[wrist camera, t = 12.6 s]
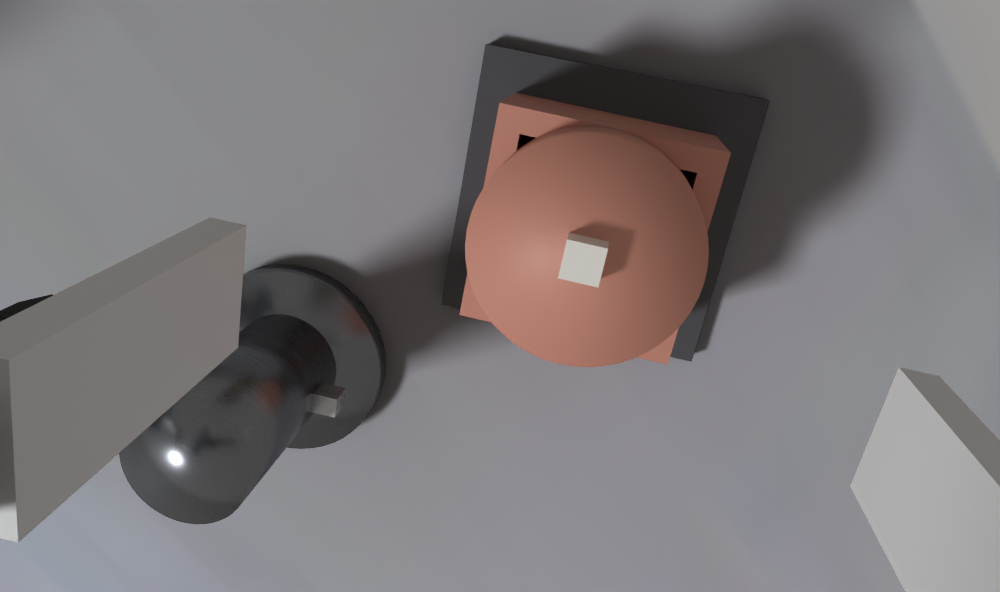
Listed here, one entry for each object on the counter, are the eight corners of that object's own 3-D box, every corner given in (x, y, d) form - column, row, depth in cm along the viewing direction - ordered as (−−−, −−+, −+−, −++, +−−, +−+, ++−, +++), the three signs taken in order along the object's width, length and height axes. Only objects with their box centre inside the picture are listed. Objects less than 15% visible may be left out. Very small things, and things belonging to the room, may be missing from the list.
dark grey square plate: (445, 299, 31) (441, 304, 31) (488, 43, 28) (485, 44, 27) (690, 355, 30) (691, 361, 30) (766, 99, 27) (769, 100, 26)
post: (202, 413, 35) (68, 536, 26) (211, 246, 32) (65, 323, 24) (373, 455, 34) (291, 595, 26) (397, 288, 31) (315, 383, 23)
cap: (479, 279, 30) (441, 346, 24) (516, 92, 28) (484, 112, 21) (662, 322, 30) (672, 402, 23) (716, 135, 27) (744, 168, 21)
